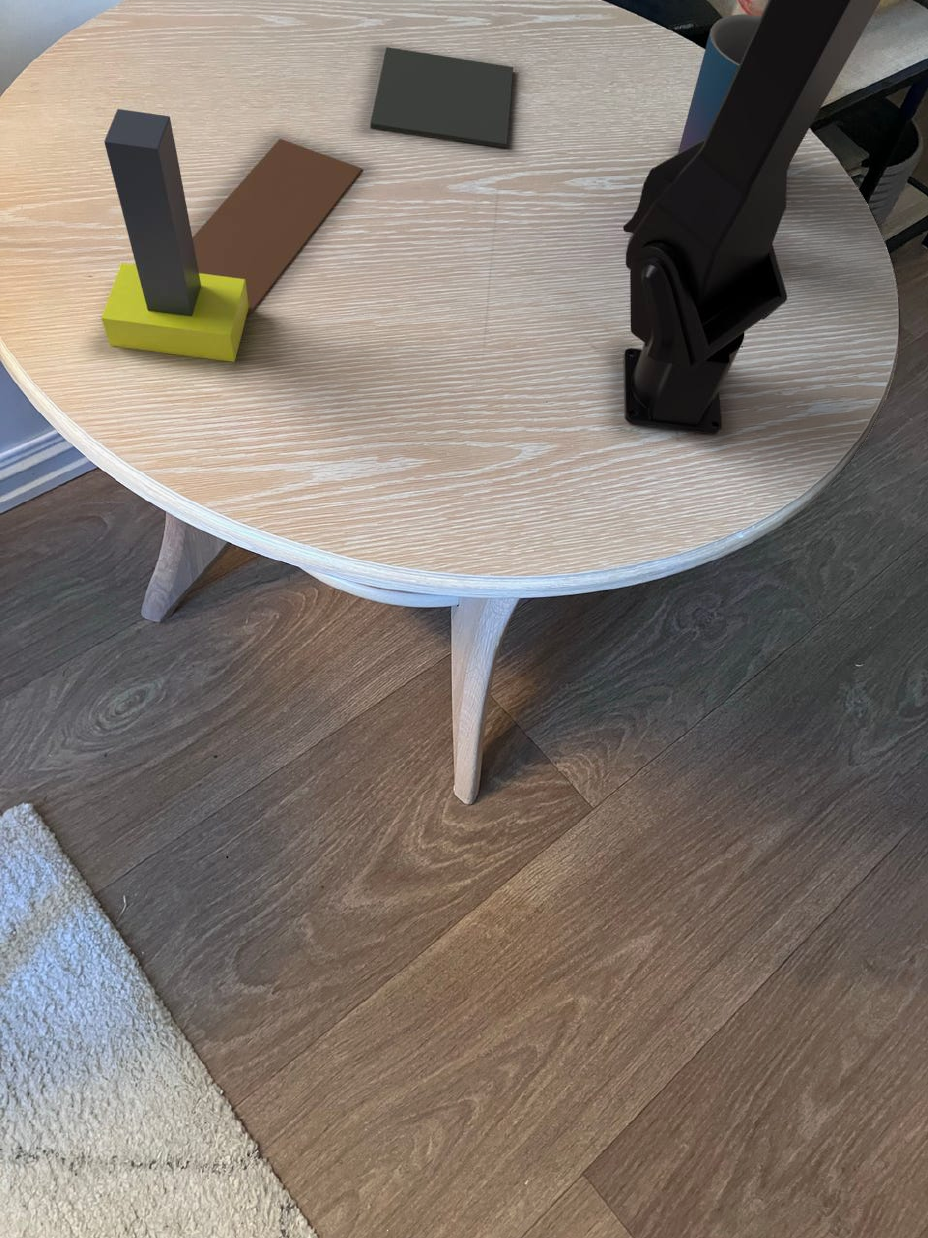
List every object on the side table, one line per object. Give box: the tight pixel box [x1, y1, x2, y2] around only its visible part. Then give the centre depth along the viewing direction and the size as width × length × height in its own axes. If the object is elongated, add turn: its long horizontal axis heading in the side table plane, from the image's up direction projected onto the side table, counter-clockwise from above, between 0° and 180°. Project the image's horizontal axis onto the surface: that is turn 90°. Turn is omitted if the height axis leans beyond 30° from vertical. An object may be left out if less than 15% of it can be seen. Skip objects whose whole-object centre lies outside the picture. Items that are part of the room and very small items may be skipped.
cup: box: [677, 14, 761, 154], centre depth 65 cm, size 7×7×15 cm
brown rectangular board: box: [192, 138, 363, 317], centre depth 67 cm, size 18×7×1 cm, turn 158°
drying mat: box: [369, 46, 514, 149], centre depth 77 cm, size 11×11×1 cm
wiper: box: [101, 108, 249, 363], centre depth 55 cm, size 5×8×14 cm, turn 86°
